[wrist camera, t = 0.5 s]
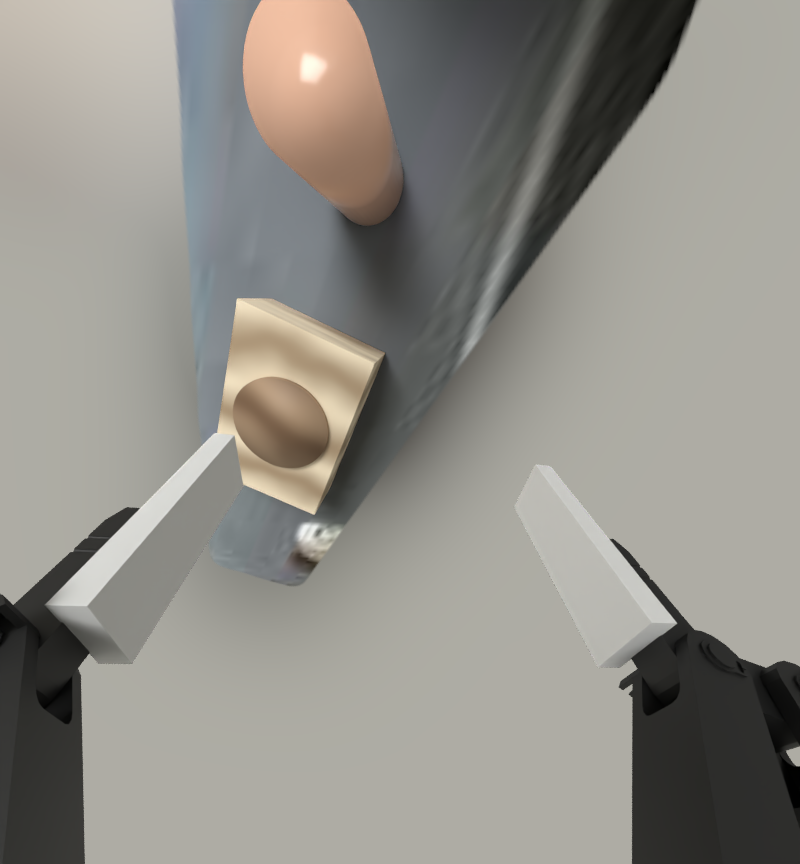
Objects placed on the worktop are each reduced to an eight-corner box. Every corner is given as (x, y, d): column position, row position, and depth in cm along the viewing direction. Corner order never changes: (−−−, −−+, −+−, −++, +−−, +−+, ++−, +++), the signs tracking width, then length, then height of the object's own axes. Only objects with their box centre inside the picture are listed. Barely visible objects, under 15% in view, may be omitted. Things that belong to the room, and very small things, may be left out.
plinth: (271, 298, 29) (233, 298, 24) (385, 353, 30) (373, 364, 25) (241, 448, 38) (208, 473, 33) (330, 487, 39) (312, 517, 33)
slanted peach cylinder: (381, 109, 22) (327, -71, 11) (415, 199, 24) (396, 120, 14) (316, 160, 24) (216, 47, 13) (353, 240, 26) (292, 198, 15)
